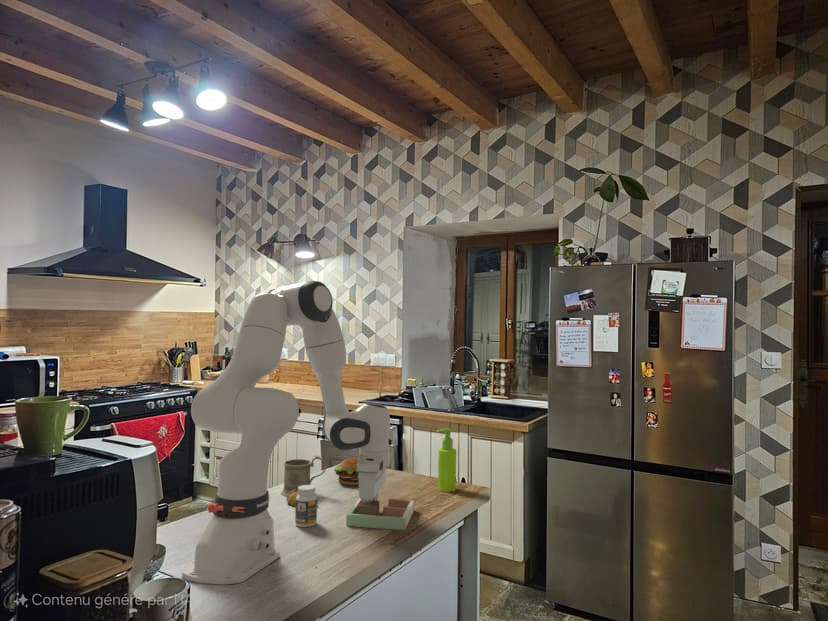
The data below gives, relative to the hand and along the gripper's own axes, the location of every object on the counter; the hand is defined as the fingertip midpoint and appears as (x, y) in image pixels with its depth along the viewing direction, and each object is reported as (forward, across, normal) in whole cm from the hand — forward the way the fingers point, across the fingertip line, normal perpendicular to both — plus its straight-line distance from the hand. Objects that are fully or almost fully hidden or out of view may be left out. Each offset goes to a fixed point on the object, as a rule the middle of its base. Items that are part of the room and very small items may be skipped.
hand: (373, 506), depth 162 cm
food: (+2, -30, -14) cm, 33 cm away
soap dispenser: (+2, -27, +18) cm, 33 cm away
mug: (+2, -13, -26) cm, 29 cm away
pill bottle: (+2, +13, -16) cm, 20 cm away
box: (+2, 0, +3) cm, 4 cm away
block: (+2, +5, 0) cm, 5 cm away
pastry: (+2, -3, -23) cm, 23 cm away
